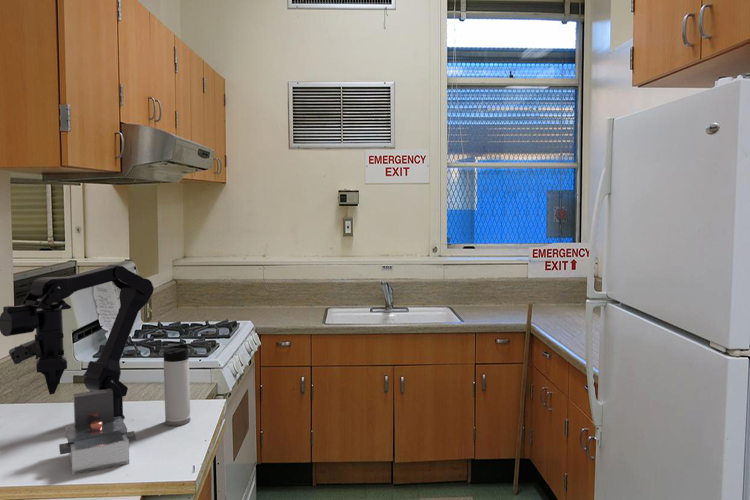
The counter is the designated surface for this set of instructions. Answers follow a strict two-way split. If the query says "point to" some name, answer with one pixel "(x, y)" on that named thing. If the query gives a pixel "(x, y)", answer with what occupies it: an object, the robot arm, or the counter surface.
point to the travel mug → (176, 385)
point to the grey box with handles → (98, 452)
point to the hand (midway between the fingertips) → (51, 392)
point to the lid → (94, 416)
